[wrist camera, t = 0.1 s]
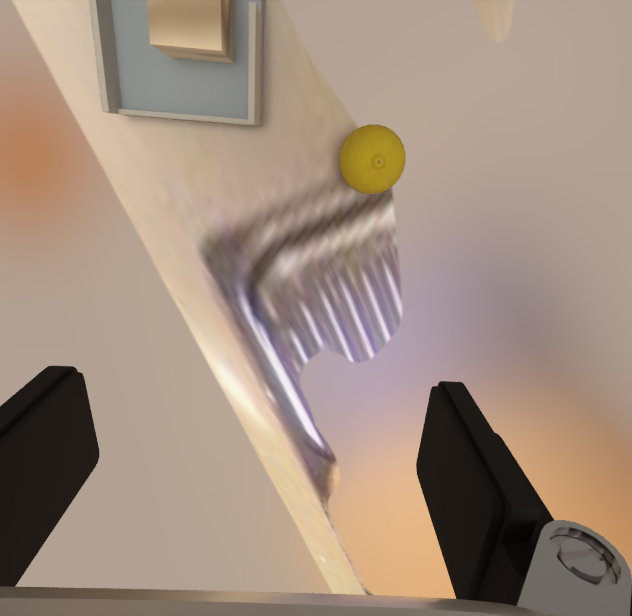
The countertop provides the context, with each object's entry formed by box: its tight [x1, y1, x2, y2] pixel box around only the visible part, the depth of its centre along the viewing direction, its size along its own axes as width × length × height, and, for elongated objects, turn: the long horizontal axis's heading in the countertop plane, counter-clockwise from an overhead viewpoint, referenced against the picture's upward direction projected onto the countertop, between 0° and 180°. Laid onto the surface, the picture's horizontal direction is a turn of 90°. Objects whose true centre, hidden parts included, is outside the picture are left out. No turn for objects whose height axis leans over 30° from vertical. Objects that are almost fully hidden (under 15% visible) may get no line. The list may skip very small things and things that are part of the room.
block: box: [147, 0, 234, 64], centre depth 29 cm, size 5×5×5 cm
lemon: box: [339, 125, 405, 194], centre depth 33 cm, size 6×6×8 cm
